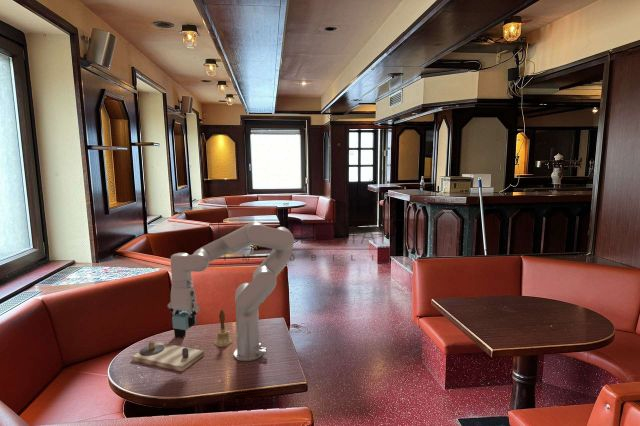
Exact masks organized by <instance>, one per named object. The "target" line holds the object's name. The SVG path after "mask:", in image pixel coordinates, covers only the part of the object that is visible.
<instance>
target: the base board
mask: <svg viewBox="0 0 640 426" xmlns="http://www.w3.org/2000/svg"><path fill="white" fill-rule="evenodd" d="M203 356H205V351H204V350H201V349H196V348H191V347H187V346H180V345H175V344H170V343H164V342H159V341H155V342H154V341H152V340H151V341H149V343H148V345H146V346H144V347H142V348H141V349H140V350H139V352H136V353H135V354H134V355H132V356H131V361H133V362H137V363H141V364H146V365H150V366H151V365H152V366H157V367H160V368H165V369H169V370H173V371H179V372H183V371H185V370H186V369H187V368H189V367H190V366H192V365H193V364H194V363H196V362H197V361H198V360H200V359H201V358H202V357H203Z"/></svg>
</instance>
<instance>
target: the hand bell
mask: <svg viewBox="0 0 640 426" xmlns="http://www.w3.org/2000/svg"><path fill="white" fill-rule="evenodd" d="M219 311H220V312H219V314H218V317H219V322H220V330H219V331H218V332H217V337H216V339H215V341H214V343H213V344H214V346H215V347H219V348H222V347H223V348H224V347H227V346H228V347H229V346H231V345H232V343H233V339H232V338H231V337H230V336H229V332H228V330H227V329H225V328H226V326H225V321H226V315H225V311H224V309H220V310H219Z"/></svg>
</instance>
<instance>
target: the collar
mask: <svg viewBox="0 0 640 426" xmlns="http://www.w3.org/2000/svg"><path fill="white" fill-rule="evenodd" d="M190 312H191V311H190ZM191 314H192V312H191ZM188 318H189V315H188V313H187V311H182V312H180V313H178V314H176V315H174V316H172V315H171V322H172V329H174V328H175V329H181V330H186V331H187V330H188V329H190V328H192V327H194V326H195V325H197V314H196V315H195V325H193V326H191V327H189V322H188Z"/></svg>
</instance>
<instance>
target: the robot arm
mask: <svg viewBox="0 0 640 426" xmlns="http://www.w3.org/2000/svg"><path fill="white" fill-rule="evenodd" d="M294 244H295V237H294V235H293V234H292V232H291V231H290V230H289V229H288V228H286V227H285V226H279V227H277V228H275V227H271V226H268V225H264V223H262V222H261V221H259V220H254V221H250V222H249V223H246V224H245V225H243V226H241V227H239V228H238V229H235V230H234V231H232V232H230V233H228V234H226V235H224V236H222V237H220V238H218V239H215V240H213V241H211V242H209V243H208V244H206V245H203V246H201V247H200V248H198V249H197V250H195V251H194V252H193V253H192V254H189V253H187V252H177V253H174V254H172V255H170V270H171V271H170V273H171V289H170V302H169V303H168V304H167V308H168V309H169V311H171V312H172V315H176V314H178V313H179V311H187V313H188V315H189V318H188V322H189V327H190V328H192V327H194V326H196V324H195V315H196V316H197V314H198V312H199V311H200V310H201V307H200V306H199V305H198V300H197V294H196V290H195V287H194V281H192V272H194V273H195V272H197V273H199V272H200V273H201V272H204V271H206V270H207V269H208V267H209V264H210V263H211V262H213V261H214V260H217V259H218V258H220V257H222V256H225V255H234V254H236V253H239V252H241V251H242V250H244V249H247V248H248V247H250V246H251V245H256V246H259V247H263V248H266V249H271V251H270V252H269V254H268V255H267V257H266V258H265V259H264V260H263V261H262V262H261V263H260V264H259V266H258V267H256V268H255V269H254V271H253V273H252V280H251V281H250V282H244V283H240V284H239V285H238V287H237V288H236V290H235V293H234V300H235V301H234V303H235V322H236V323H235V325H236V326H235V327H236V349H235V350H234V352H233V358H234V359H236V360H238V361H241V362H250V361H254V360H255V361H256V360H257V359H259V358H261V356H263V355H265V356H267V353H268V350H267V349H268V348H267V347H263V346H262V343H261V342H260V331H259V330H260V328H259V327H260V326H259V325H260V322H259V318H260V317H259V307H260V306H261V305H262V304H263V303H264V301H265V300H266V299H268V297H269V296H270V295H271V294H272V292H273V291H274V289H275V288H276V286H277V277H278V275H279V274H280V273H281V272H282V270H283V269H284V267H286V265H287V264H288V263H289V261H290V259H291V257H292V255H293V249H294ZM171 312H170V313H171ZM191 312H192V314H191ZM172 315H171V316H172ZM193 325H194V326H193ZM191 326H192V327H191Z"/></svg>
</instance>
